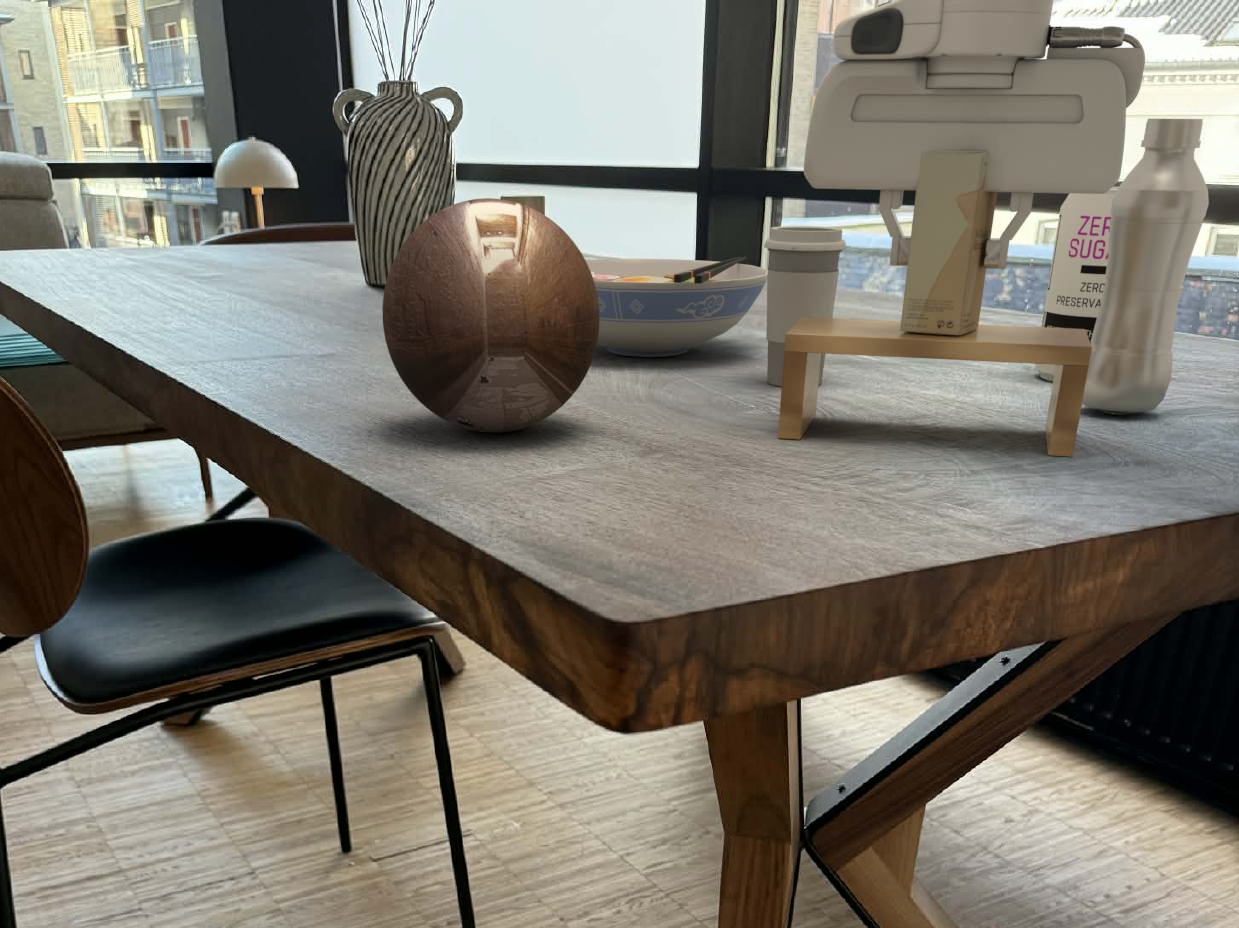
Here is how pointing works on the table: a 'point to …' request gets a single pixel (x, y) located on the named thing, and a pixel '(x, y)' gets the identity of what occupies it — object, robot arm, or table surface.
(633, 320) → the ramen bowl
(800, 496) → the table surface
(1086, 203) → the supplement can
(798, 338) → the shelf
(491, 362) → the copper ball
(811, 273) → the cup
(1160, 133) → the plastic bottle
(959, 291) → the box
